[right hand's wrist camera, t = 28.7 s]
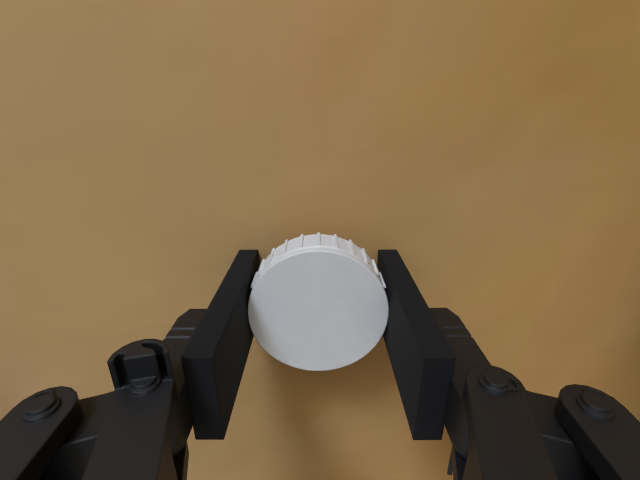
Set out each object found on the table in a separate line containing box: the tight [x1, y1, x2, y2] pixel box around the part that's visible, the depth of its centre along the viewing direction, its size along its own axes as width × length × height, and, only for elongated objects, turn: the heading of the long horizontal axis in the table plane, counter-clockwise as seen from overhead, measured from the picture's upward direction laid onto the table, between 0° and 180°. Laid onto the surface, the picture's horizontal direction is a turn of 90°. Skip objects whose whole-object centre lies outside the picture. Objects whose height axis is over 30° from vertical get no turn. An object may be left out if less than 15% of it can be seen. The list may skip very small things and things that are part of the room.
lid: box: [248, 232, 389, 371], centre depth 13 cm, size 5×5×2 cm
